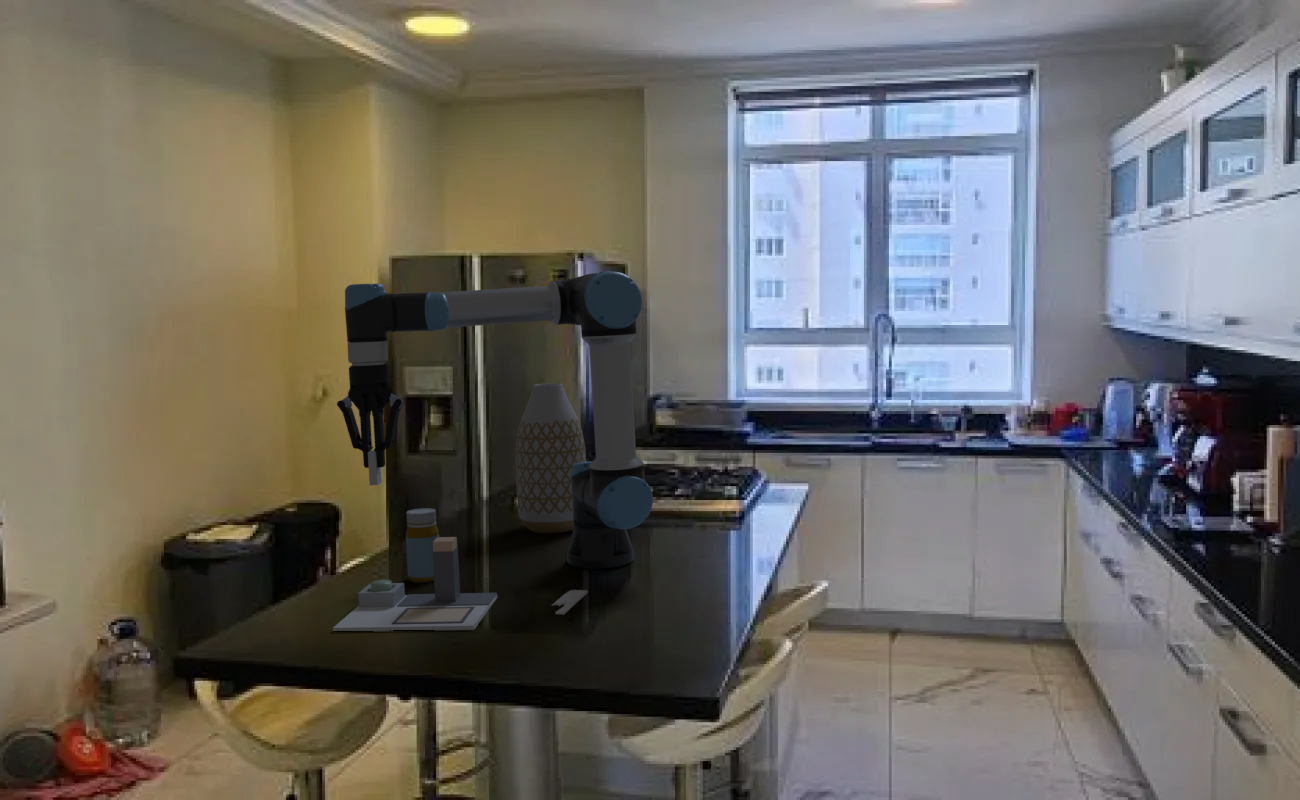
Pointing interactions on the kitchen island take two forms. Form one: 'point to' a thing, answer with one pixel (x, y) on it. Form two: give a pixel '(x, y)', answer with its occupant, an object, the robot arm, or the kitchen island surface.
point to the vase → (547, 460)
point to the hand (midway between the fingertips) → (375, 483)
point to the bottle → (421, 544)
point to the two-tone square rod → (446, 569)
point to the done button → (381, 585)
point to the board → (414, 611)
